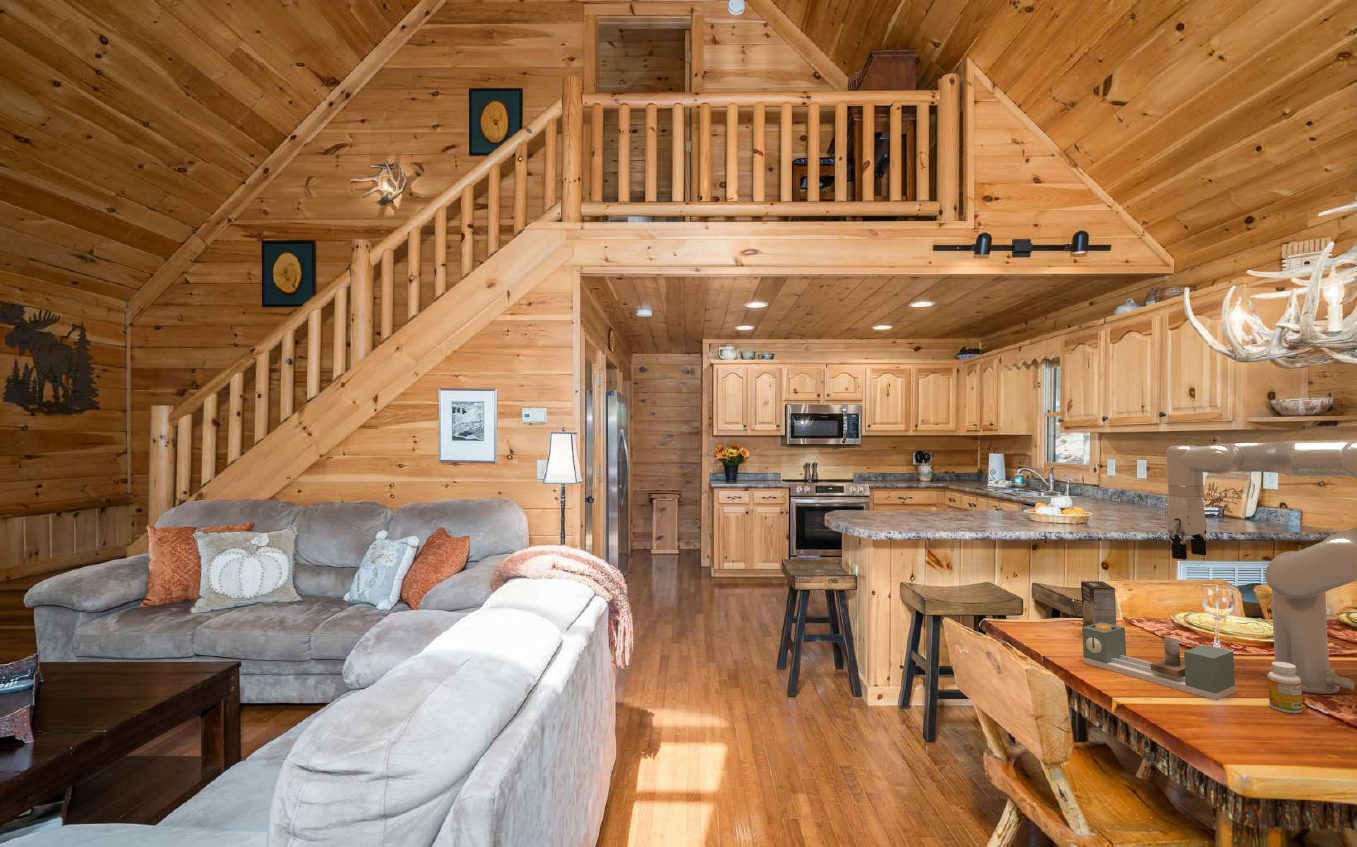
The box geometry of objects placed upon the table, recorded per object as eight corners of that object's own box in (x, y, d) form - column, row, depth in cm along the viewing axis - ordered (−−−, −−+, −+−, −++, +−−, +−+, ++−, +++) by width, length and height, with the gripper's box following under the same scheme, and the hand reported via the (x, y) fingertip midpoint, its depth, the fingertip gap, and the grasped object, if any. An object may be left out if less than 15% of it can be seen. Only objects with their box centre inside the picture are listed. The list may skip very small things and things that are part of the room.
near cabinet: (1235, 685, 155) (1233, 651, 155) (1215, 693, 151) (1213, 658, 151) (1201, 676, 161) (1199, 643, 161) (1181, 684, 157) (1180, 650, 157)
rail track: (1235, 691, 155) (1234, 681, 155) (1216, 700, 150) (1215, 689, 151) (1103, 656, 181) (1102, 647, 181) (1083, 662, 177) (1083, 653, 177)
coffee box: (1082, 632, 203) (1079, 580, 203) (1105, 633, 201) (1102, 580, 202) (1094, 642, 194) (1092, 587, 194) (1118, 642, 192) (1116, 587, 193)
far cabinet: (1126, 657, 176) (1124, 627, 176) (1105, 663, 172) (1104, 633, 172) (1103, 651, 181) (1101, 622, 181) (1082, 657, 177) (1080, 627, 177)
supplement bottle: (1268, 701, 149) (1266, 658, 149) (1301, 707, 145) (1299, 663, 145) (1270, 710, 144) (1267, 665, 145) (1304, 715, 141) (1301, 670, 141)
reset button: (1114, 637, 176) (1114, 625, 176) (1106, 640, 174) (1106, 628, 174) (1100, 634, 179) (1100, 622, 179) (1093, 636, 177) (1092, 624, 177)
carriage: (1195, 670, 161) (1194, 639, 161) (1178, 677, 158) (1176, 645, 158) (1168, 663, 167) (1166, 633, 167) (1150, 669, 163) (1149, 639, 163)
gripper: (1186, 489, 181) (1190, 551, 181) (1152, 493, 173) (1155, 558, 173) (1219, 490, 175) (1222, 555, 174) (1185, 495, 167) (1188, 562, 166)
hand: (1189, 556), depth 174 cm, fingers open, 9 cm apart
